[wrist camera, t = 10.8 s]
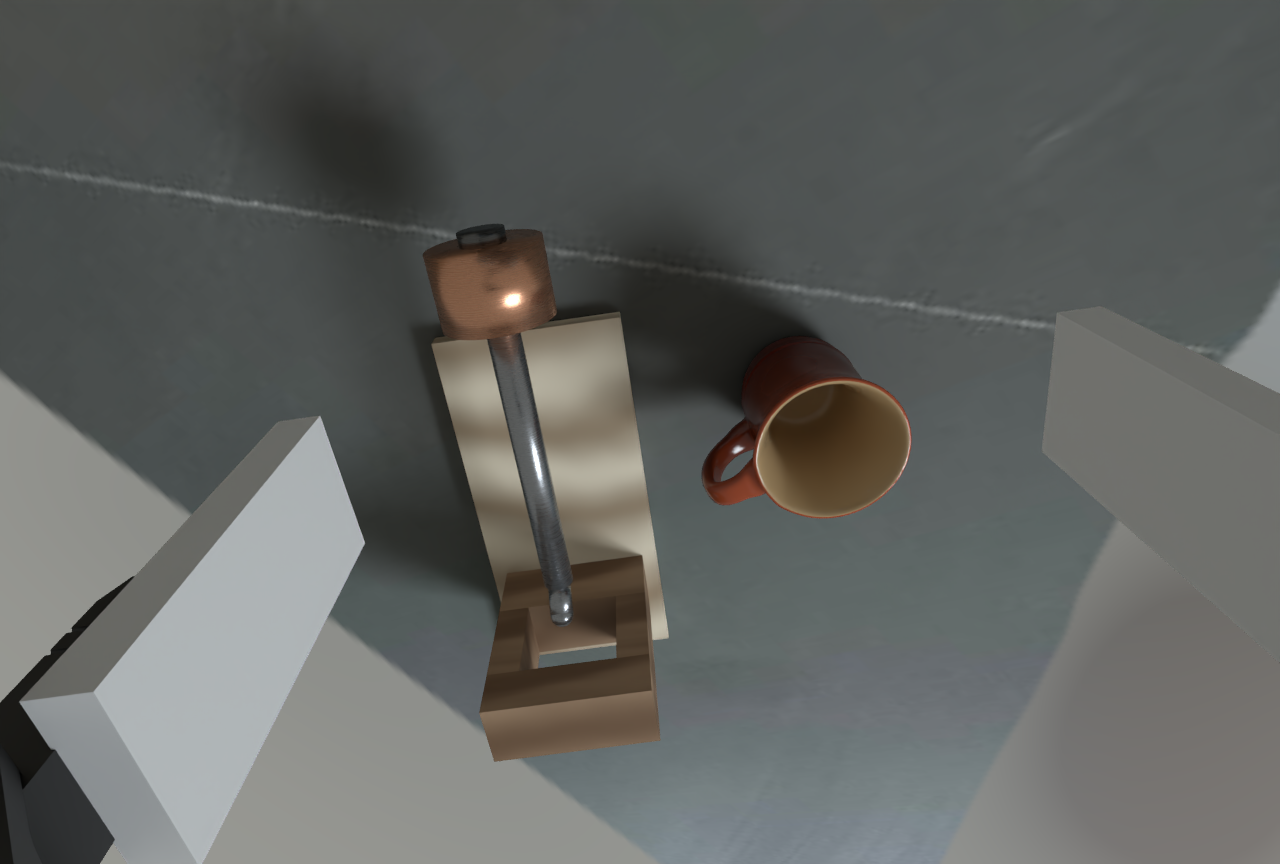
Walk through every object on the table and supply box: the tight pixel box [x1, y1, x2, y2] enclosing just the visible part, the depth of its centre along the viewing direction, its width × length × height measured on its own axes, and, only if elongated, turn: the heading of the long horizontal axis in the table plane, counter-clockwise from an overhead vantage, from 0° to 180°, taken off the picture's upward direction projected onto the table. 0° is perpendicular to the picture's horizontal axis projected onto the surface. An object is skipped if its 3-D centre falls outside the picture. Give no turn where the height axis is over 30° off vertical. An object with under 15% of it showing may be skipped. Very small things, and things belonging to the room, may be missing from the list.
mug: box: [702, 336, 911, 518], centre depth 47 cm, size 12×9×10 cm
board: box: [431, 312, 669, 655], centre depth 54 cm, size 26×12×1 cm, turn 8°
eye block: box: [479, 555, 660, 761], centre depth 50 cm, size 4×10×13 cm, turn 98°
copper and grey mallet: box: [423, 224, 573, 627], centre depth 43 cm, size 24×6×6 cm, turn 8°
